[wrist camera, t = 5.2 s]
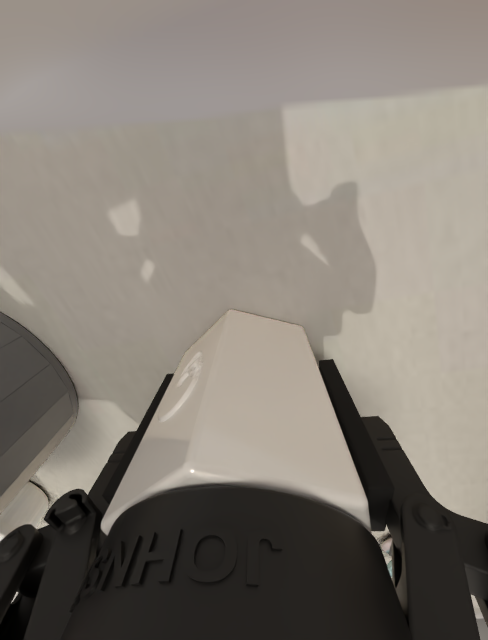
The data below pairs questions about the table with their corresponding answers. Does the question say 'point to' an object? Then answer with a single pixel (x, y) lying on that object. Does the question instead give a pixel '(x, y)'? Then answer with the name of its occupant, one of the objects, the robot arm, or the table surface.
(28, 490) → the ramekin
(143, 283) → the table surface
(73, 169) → the table surface
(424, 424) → the table surface
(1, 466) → the grey round bowl
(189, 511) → the jar
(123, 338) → the table surface
